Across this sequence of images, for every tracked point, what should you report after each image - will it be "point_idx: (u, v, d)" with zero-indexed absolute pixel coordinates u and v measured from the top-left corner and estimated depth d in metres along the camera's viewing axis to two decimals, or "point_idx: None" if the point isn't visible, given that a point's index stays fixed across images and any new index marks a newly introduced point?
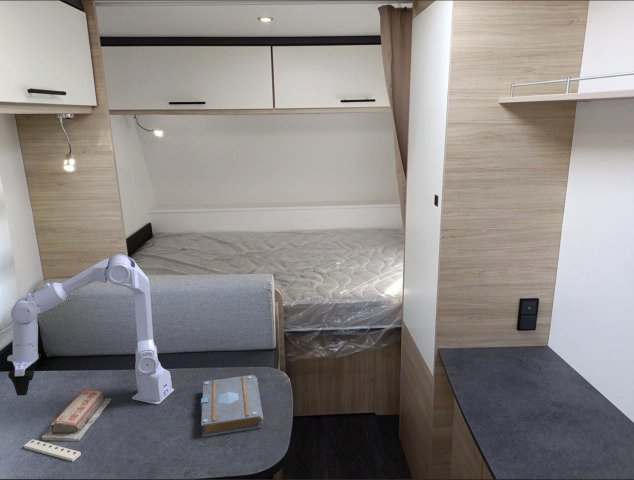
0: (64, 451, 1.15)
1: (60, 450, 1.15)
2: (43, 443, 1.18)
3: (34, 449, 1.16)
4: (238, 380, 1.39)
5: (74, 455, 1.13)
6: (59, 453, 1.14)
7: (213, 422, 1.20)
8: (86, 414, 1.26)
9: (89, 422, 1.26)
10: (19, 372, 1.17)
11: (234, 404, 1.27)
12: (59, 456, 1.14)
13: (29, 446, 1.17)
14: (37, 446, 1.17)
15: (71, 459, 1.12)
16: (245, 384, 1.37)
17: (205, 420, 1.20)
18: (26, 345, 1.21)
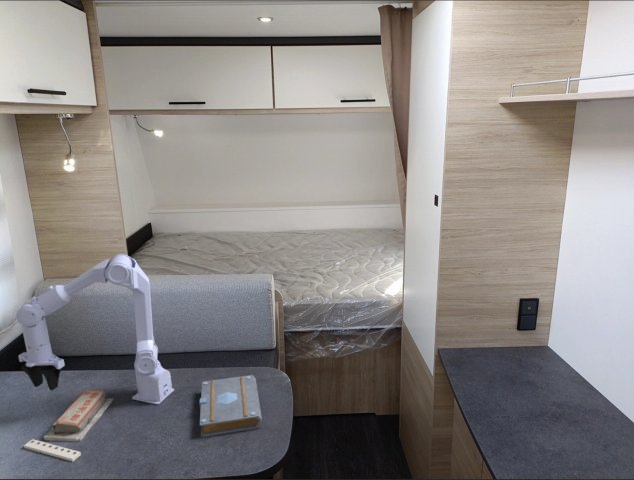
0: (64, 451, 1.15)
1: (60, 450, 1.15)
2: (43, 443, 1.18)
3: (34, 449, 1.16)
4: (237, 380, 1.39)
5: (74, 455, 1.13)
6: (59, 453, 1.14)
7: (211, 422, 1.20)
8: (88, 414, 1.25)
9: (91, 422, 1.26)
10: (61, 364, 1.25)
11: (233, 404, 1.27)
12: (59, 456, 1.14)
13: (29, 446, 1.17)
14: (37, 446, 1.17)
15: (71, 459, 1.12)
16: (244, 384, 1.36)
17: (203, 420, 1.20)
18: (47, 343, 1.26)
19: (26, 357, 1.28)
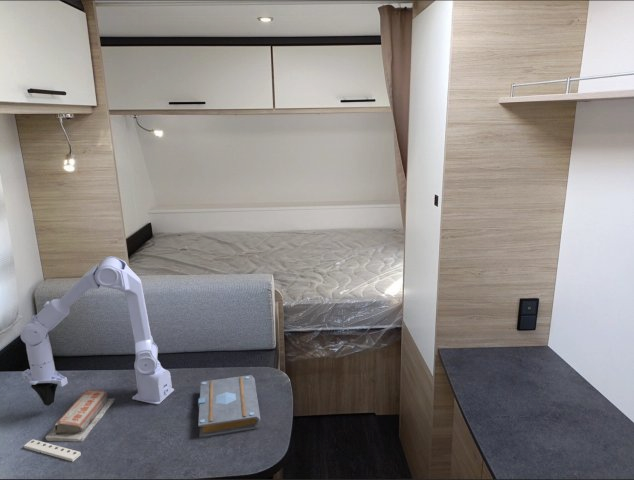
0: (64, 451, 1.15)
1: (60, 450, 1.15)
2: (43, 443, 1.18)
3: (34, 449, 1.16)
4: (236, 380, 1.39)
5: (74, 455, 1.13)
6: (59, 453, 1.14)
7: (210, 423, 1.20)
8: (90, 414, 1.25)
9: (93, 422, 1.25)
10: (64, 381, 1.26)
11: (231, 404, 1.27)
12: (59, 456, 1.14)
13: (29, 446, 1.17)
14: (37, 446, 1.17)
15: (71, 459, 1.12)
16: (242, 384, 1.36)
17: (202, 421, 1.20)
18: (50, 360, 1.27)
19: (29, 374, 1.29)
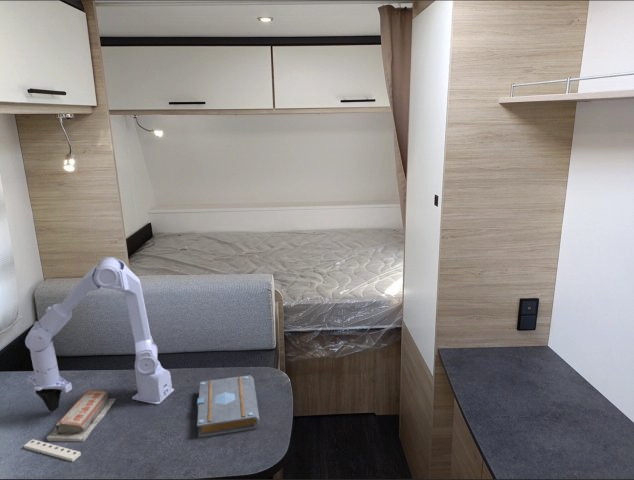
0: (64, 451, 1.15)
1: (60, 450, 1.15)
2: (43, 443, 1.18)
3: (34, 449, 1.16)
4: (235, 380, 1.39)
5: (74, 455, 1.13)
6: (59, 453, 1.14)
7: (209, 423, 1.20)
8: (91, 414, 1.25)
9: (94, 422, 1.25)
10: (68, 387, 1.26)
11: (230, 405, 1.27)
12: (59, 456, 1.14)
13: (29, 446, 1.17)
14: (37, 446, 1.17)
15: (71, 459, 1.12)
16: (242, 384, 1.36)
17: (201, 421, 1.20)
18: (55, 366, 1.27)
19: (34, 380, 1.29)
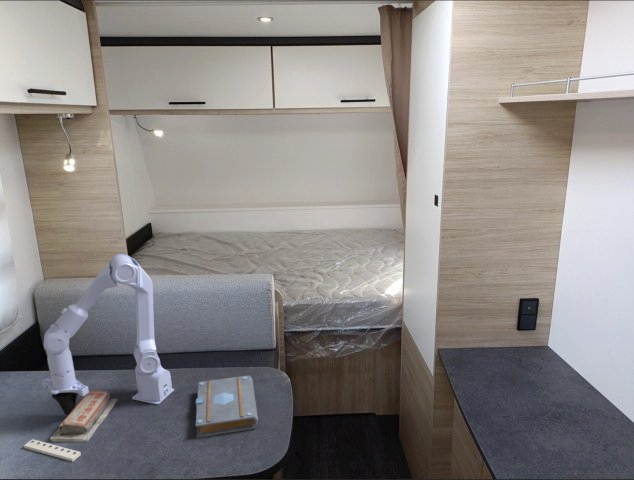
0: (64, 451, 1.15)
1: (60, 450, 1.15)
2: (43, 443, 1.18)
3: (34, 449, 1.16)
4: (233, 380, 1.39)
5: (74, 455, 1.13)
6: (59, 453, 1.14)
7: (207, 423, 1.20)
8: (94, 414, 1.25)
9: (97, 423, 1.25)
10: (85, 391, 1.25)
11: (229, 405, 1.27)
12: (59, 456, 1.14)
13: (29, 446, 1.17)
14: (37, 446, 1.17)
15: (71, 459, 1.12)
16: (240, 385, 1.36)
17: (199, 421, 1.20)
18: (71, 369, 1.25)
19: (50, 383, 1.27)
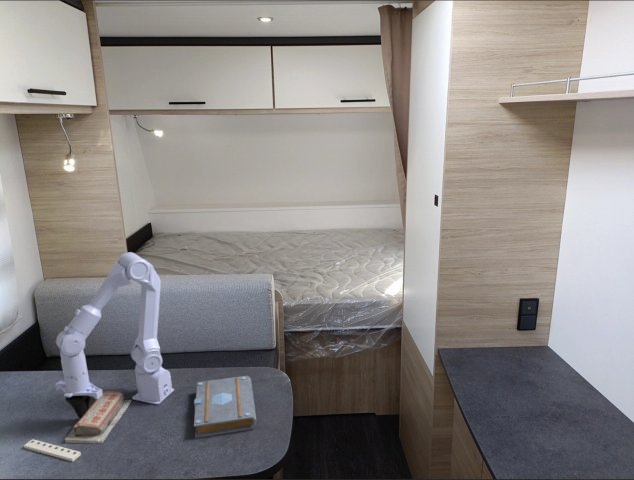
0: (64, 451, 1.15)
1: (60, 450, 1.15)
2: (43, 443, 1.18)
3: (34, 449, 1.16)
4: (232, 381, 1.39)
5: (74, 455, 1.13)
6: (59, 453, 1.14)
7: (206, 423, 1.20)
8: (108, 416, 1.25)
9: (111, 424, 1.25)
10: (99, 394, 1.23)
11: (227, 405, 1.27)
12: (59, 456, 1.14)
13: (29, 446, 1.17)
14: (37, 446, 1.17)
15: (71, 459, 1.12)
16: (239, 385, 1.36)
17: (198, 421, 1.20)
18: (85, 372, 1.24)
19: (63, 386, 1.26)
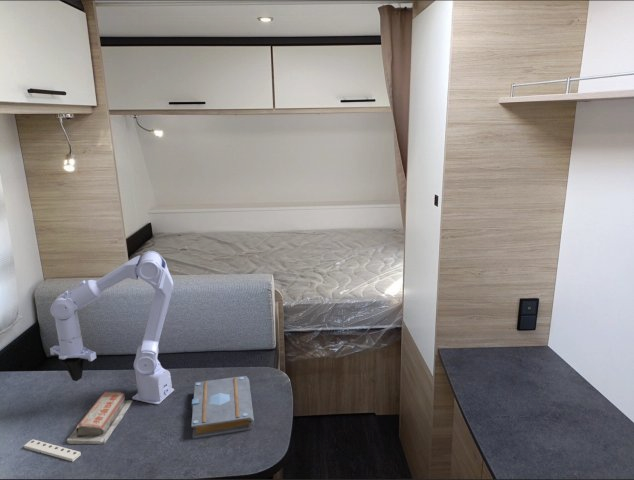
0: (64, 451, 1.15)
1: (60, 450, 1.15)
2: (43, 443, 1.18)
3: (34, 449, 1.16)
4: (230, 381, 1.39)
5: (74, 455, 1.13)
6: (59, 453, 1.14)
7: (203, 423, 1.20)
8: (110, 416, 1.24)
9: (113, 424, 1.24)
10: (93, 356, 1.28)
11: (225, 405, 1.27)
12: (59, 456, 1.14)
13: (29, 446, 1.17)
14: (37, 446, 1.17)
15: (71, 459, 1.12)
16: (237, 385, 1.36)
17: (195, 421, 1.20)
18: (79, 336, 1.29)
19: (58, 350, 1.31)
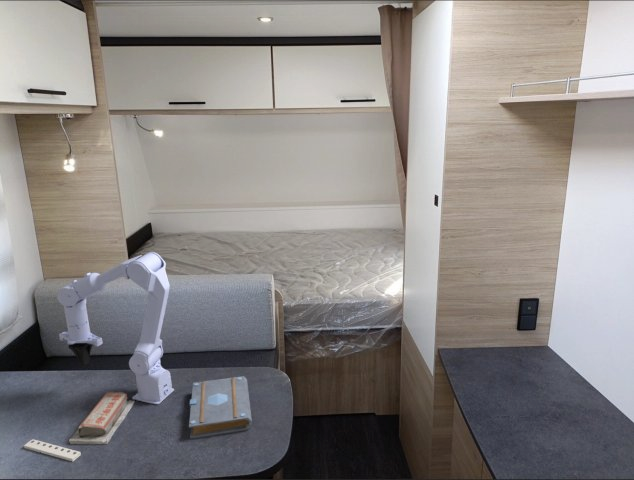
0: (64, 451, 1.15)
1: (60, 450, 1.15)
2: (43, 443, 1.18)
3: (34, 449, 1.16)
4: (228, 381, 1.39)
5: (74, 455, 1.13)
6: (59, 453, 1.14)
7: (201, 424, 1.19)
8: (112, 416, 1.24)
9: (115, 425, 1.24)
10: (99, 341, 1.35)
11: (223, 405, 1.27)
12: (59, 456, 1.14)
13: (29, 446, 1.17)
14: (37, 446, 1.17)
15: (71, 459, 1.12)
16: (235, 385, 1.36)
17: (193, 422, 1.20)
18: (86, 322, 1.36)
19: (66, 336, 1.38)
